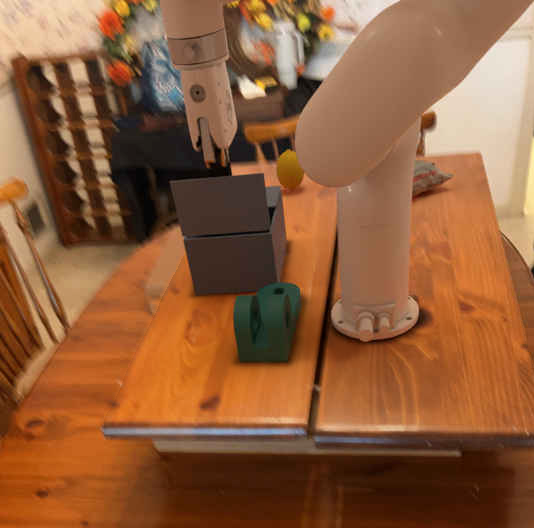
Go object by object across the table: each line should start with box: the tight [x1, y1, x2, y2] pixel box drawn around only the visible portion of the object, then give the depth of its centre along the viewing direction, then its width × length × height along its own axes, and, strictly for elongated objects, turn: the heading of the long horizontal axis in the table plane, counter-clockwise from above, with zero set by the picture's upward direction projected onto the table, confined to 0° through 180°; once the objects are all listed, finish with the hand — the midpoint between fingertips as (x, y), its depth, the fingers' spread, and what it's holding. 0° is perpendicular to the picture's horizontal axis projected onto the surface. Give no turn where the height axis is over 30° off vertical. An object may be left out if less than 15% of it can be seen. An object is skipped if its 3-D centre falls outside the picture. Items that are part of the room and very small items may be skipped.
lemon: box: [275, 148, 305, 192], centre depth 128 cm, size 6×6×8 cm
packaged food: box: [412, 159, 454, 198], centre depth 122 cm, size 9×12×5 cm
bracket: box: [232, 281, 302, 363], centre depth 93 cm, size 18×7×8 cm, turn 170°
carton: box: [182, 185, 288, 296], centre depth 106 cm, size 17×14×10 cm
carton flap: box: [169, 172, 271, 238], centre depth 94 cm, size 8×14×1 cm
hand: (223, 193), depth 95 cm, fingers closed
